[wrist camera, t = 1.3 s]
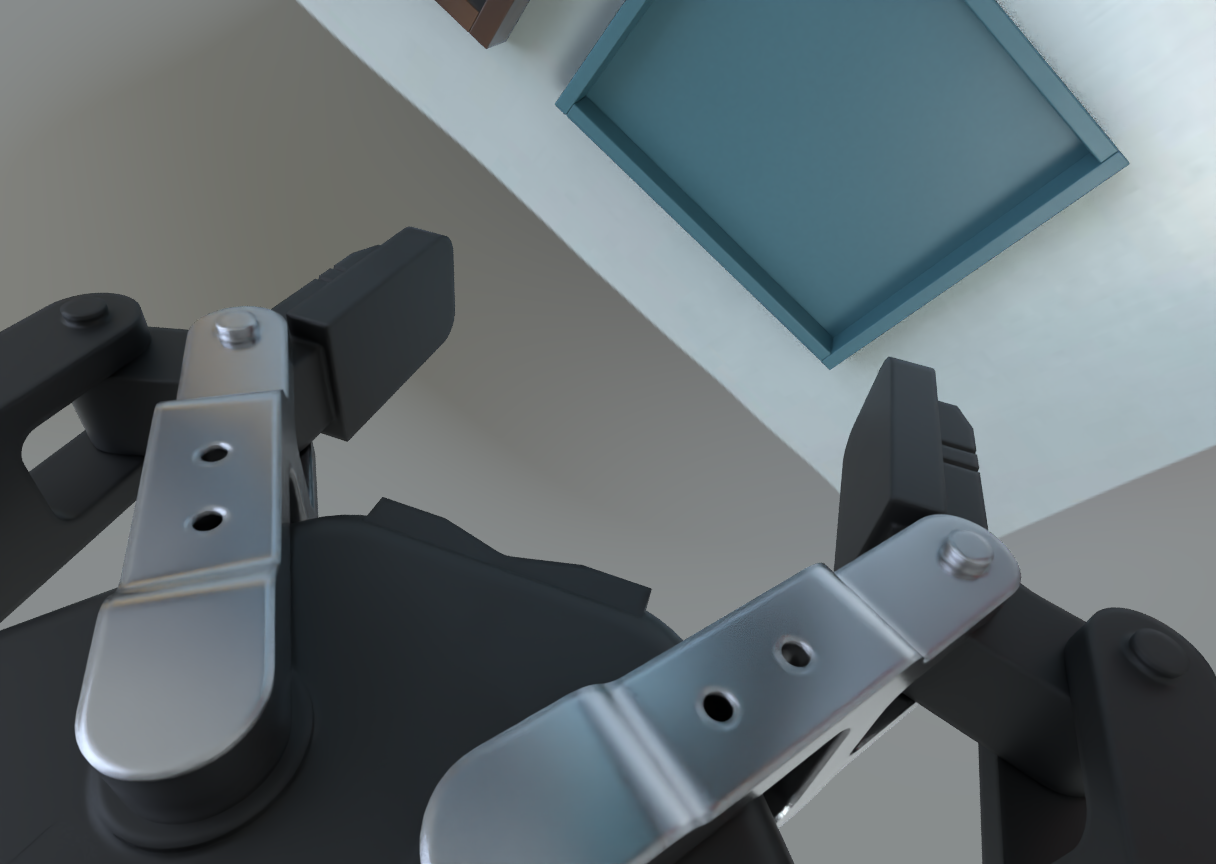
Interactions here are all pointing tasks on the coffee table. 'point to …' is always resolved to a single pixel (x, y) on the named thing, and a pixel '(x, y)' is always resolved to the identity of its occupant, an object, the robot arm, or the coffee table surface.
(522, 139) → the coffee table surface
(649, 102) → the tray
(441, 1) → the spice rack
